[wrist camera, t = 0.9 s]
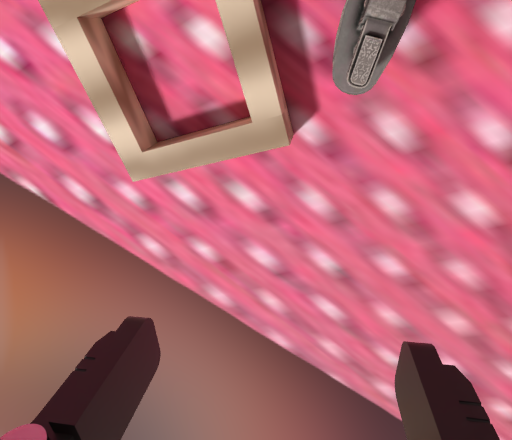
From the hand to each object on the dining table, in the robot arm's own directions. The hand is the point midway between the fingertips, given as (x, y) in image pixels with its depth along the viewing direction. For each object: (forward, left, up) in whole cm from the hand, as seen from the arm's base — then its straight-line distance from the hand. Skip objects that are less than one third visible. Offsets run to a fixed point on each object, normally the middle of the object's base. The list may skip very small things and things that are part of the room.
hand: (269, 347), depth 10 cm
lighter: (-8, +6, -22) cm, 24 cm away
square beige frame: (-9, -9, -22) cm, 25 cm away
